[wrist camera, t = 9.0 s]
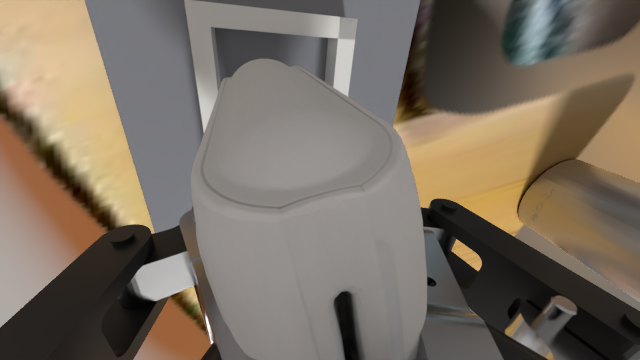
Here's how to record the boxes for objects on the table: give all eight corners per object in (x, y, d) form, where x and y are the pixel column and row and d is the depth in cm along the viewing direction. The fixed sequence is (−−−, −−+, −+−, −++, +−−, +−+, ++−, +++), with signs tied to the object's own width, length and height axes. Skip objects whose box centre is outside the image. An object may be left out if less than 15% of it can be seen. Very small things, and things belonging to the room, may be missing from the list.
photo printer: (325, 213, 18) (441, 460, 8) (264, 229, 17) (299, 526, 7) (301, 50, 12) (591, 138, 2) (212, 65, 12) (3, 295, 1)
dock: (416, -23, 16) (447, -33, 14) (365, 226, 26) (378, 247, 23) (71, -80, 12) (23, -112, 9) (165, 248, 21) (154, 277, 19)
